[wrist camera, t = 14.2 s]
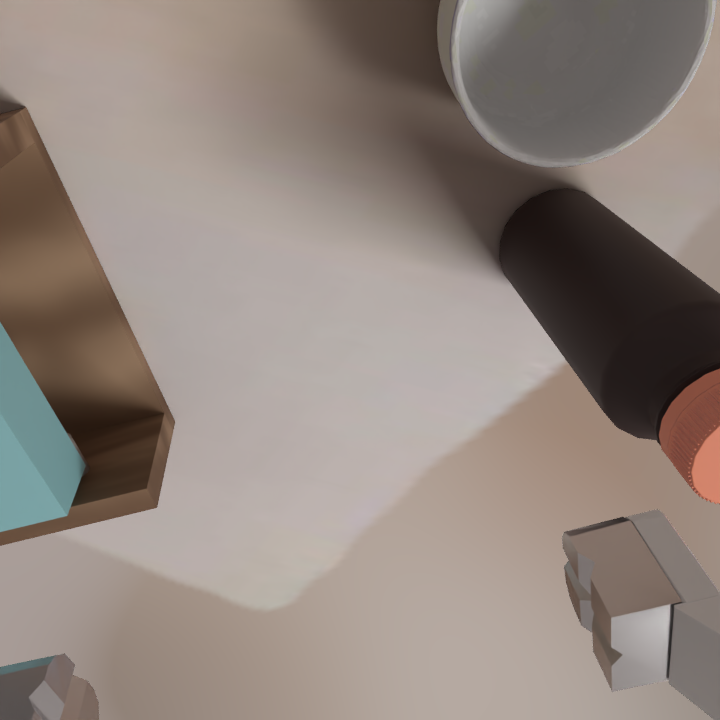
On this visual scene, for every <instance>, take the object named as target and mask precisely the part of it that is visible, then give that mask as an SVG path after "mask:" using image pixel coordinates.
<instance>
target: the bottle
mask: <svg viewBox="0 0 720 720" xmlns="http://www.w3.org/2000/svg"><path fill="white" fill-rule="evenodd" d="M500 262H501V265H502V268H503V271H504V274H505V276H506V277H507V279H508V280H509V281H510V283H511V284H512V286H513V287H514V288H515V290H516V291H517V292H518V294H519V295H520V297H521V298H522V299H523V301H524V302H525V304H526V305H527V306H528V308H529V309H530V310H531V312H532V313H533V315H534V316H535V317H536V319H537V320H538V322H539V323H540V324H541V326H542V327H543V328H544V330H545V331H546V333H547V334H548V335H549V337H550V338H551V340H552V341H553V342H554V344H555V345H556V347H557V348H558V349H559V351H560V352H561V353H562V355H563V356H564V358H565V359H566V360H567V362H568V363H569V364H570V366H571V367H572V368H573V370H574V371H575V373H576V374H577V376H578V377H579V378H580V380H581V381H582V383H583V384H584V385H585V387H586V388H587V389H588V391H589V392H590V394H591V395H592V396H593V398H594V399H595V401H596V402H597V403H598V405H599V406H600V408H601V409H602V410H603V412H604V413H605V414H606V415H607V416H608V418H610V420H611V421H612V422H613V423H614V425H615V426H616V427H618V428H619V429H621V430H623V431H625V432H627V433H630V434H631V435H633V436H635V437H637V438H643V439H652V440H657V442H658V443H659V444H660V445H661V448H662V450H663V452H664V453H665V454H666V455H667V457H668V458H669V459H670V460H671V462H672V463H673V465H674V466H675V467H676V469H677V470H678V472H679V473H680V474H681V475H682V477H683V478H684V479H685V480H686V482H687V483H688V484H689V486H690V487H691V488H692V489H693V491H694V492H695V493H696V494H698V495H699V497H702V498H703V499H706V500H707V501H708V500H709V501H710V502H714V503H715V504H716V503H719V504H720V294H719V293H718V292H717V291H715V290H714V289H713V288H711V287H710V286H709V285H707V284H706V283H705V282H703V281H702V280H701V279H700V278H698V277H697V276H695V275H694V274H693V273H692V272H690V271H689V270H688V269H686V268H685V267H684V266H682V265H681V264H680V263H679V262H677V261H676V260H675V259H673V258H672V257H671V256H669V255H668V254H667V253H665V252H664V251H663V250H661V249H660V248H659V247H658V246H656V245H655V244H654V243H652V242H651V241H650V240H648V239H647V238H646V237H644V236H643V235H642V234H640V233H639V232H638V231H636V230H635V229H634V228H633V227H631V226H630V225H629V224H627V223H626V222H625V221H623V220H622V219H621V218H619V217H618V216H617V215H615V214H614V213H613V212H612V211H610V210H609V209H608V208H606V207H605V206H604V205H602V204H601V203H600V202H598V201H597V200H595V199H594V198H592V197H591V196H589V195H588V194H586V193H585V192H580V191H576V190H571V189H560V190H552V191H547V192H545V193H543V194H540V195H538V196H536V197H534V198H531V199H530V200H529V201H528V202H526V203H525V204H524V205H523V206H521V207H520V208H519V209H518V210H517V211H516V212H515V213H514V215H513V216H512V218H511V219H510V220H509V222H508V223H507V225H506V227H505V229H504V232H503V235H502V238H501V241H500Z"/></svg>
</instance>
